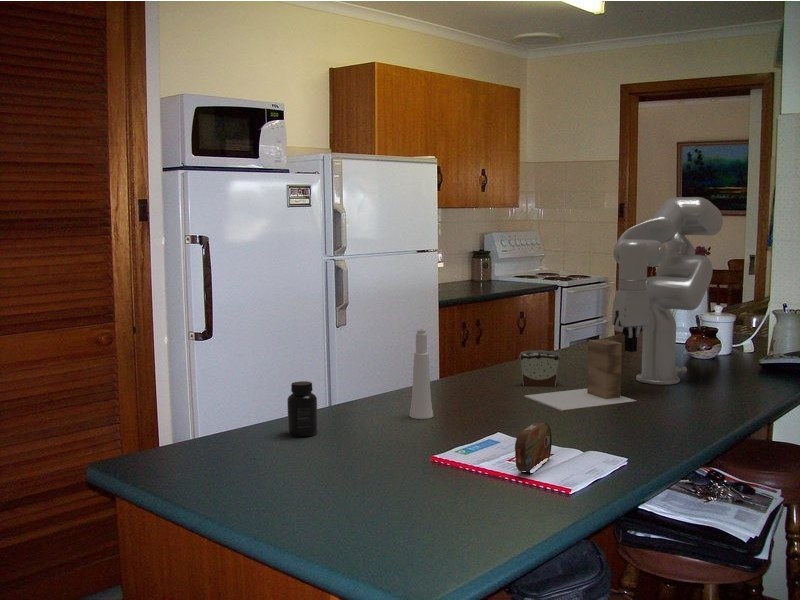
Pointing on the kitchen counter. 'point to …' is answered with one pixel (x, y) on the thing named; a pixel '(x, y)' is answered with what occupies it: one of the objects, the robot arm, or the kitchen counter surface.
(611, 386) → the walnut block
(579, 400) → the grey mat
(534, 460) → the tin
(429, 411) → the cosmetic bottle
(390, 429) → the kitchen counter surface
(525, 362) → the food container
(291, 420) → the supplement bottle
